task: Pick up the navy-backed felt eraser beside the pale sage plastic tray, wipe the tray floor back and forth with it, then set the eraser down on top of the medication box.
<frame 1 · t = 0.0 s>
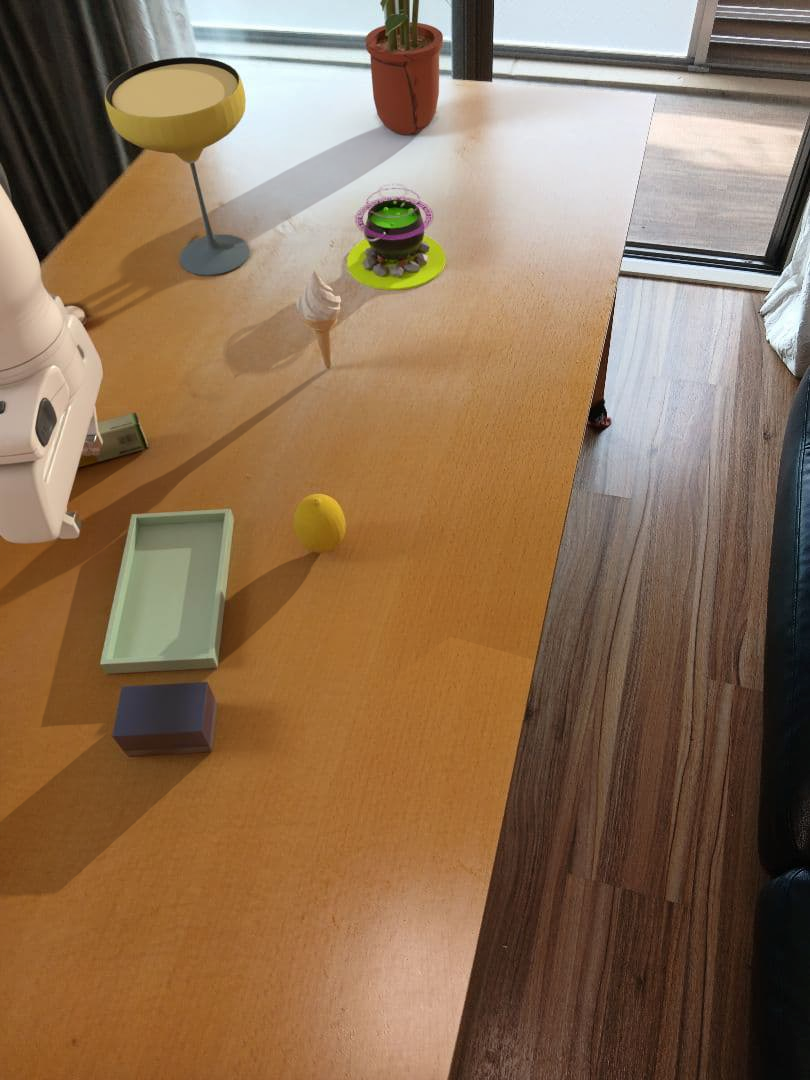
hand: (82, 489, 71), 20 cm above the table, tool pointing down, fingers open, 8 cm apart
eraser: (173, 729, 78), on the table
cocktail glass: (215, 256, 126), on the table
lemon: (324, 547, 91), on the table
potted plant: (415, 132, 148), on the table
tray: (174, 591, 87), on the table
white rounded oval piece: (71, 328, 116), on the table
medication box: (100, 457, 100), on the table
toy cauldron: (396, 261, 124), on the table
ice cream cone: (328, 369, 109), on the table
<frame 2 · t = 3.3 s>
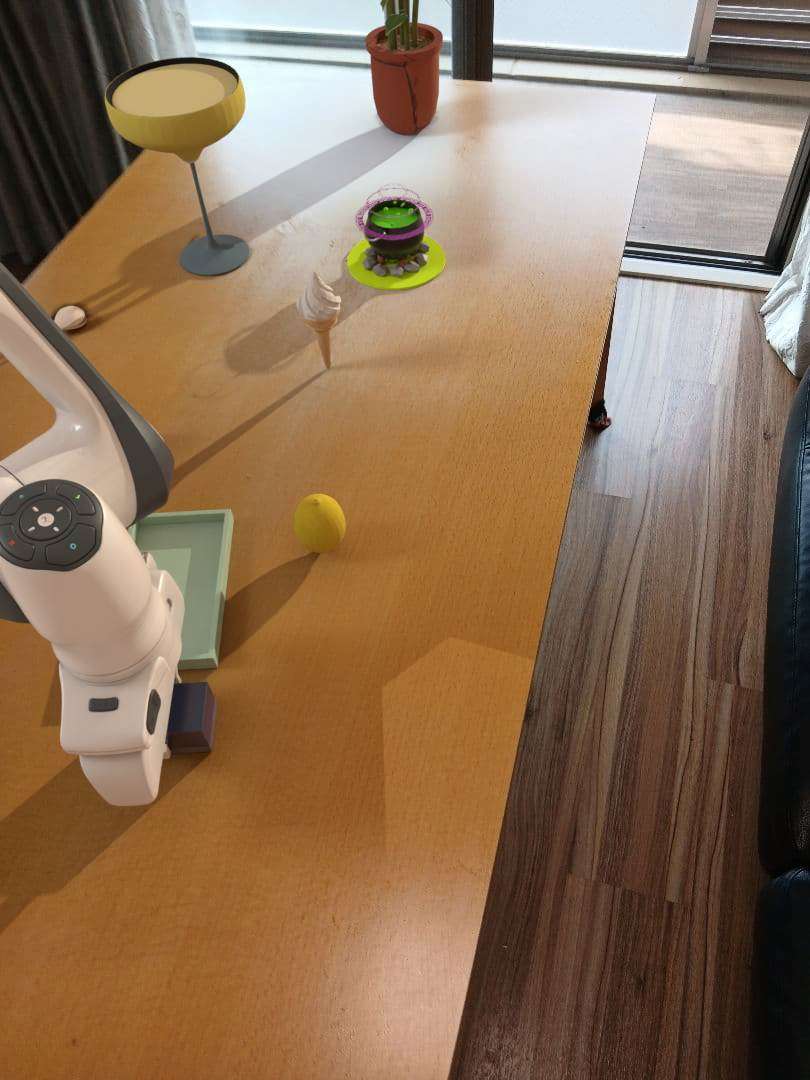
hand: (167, 720, 76), 2 cm above the table, tool pointing down, fingers closed on eraser, 5 cm apart
eraser: (173, 729, 78), on the table, touching gripper
everything else where it was.
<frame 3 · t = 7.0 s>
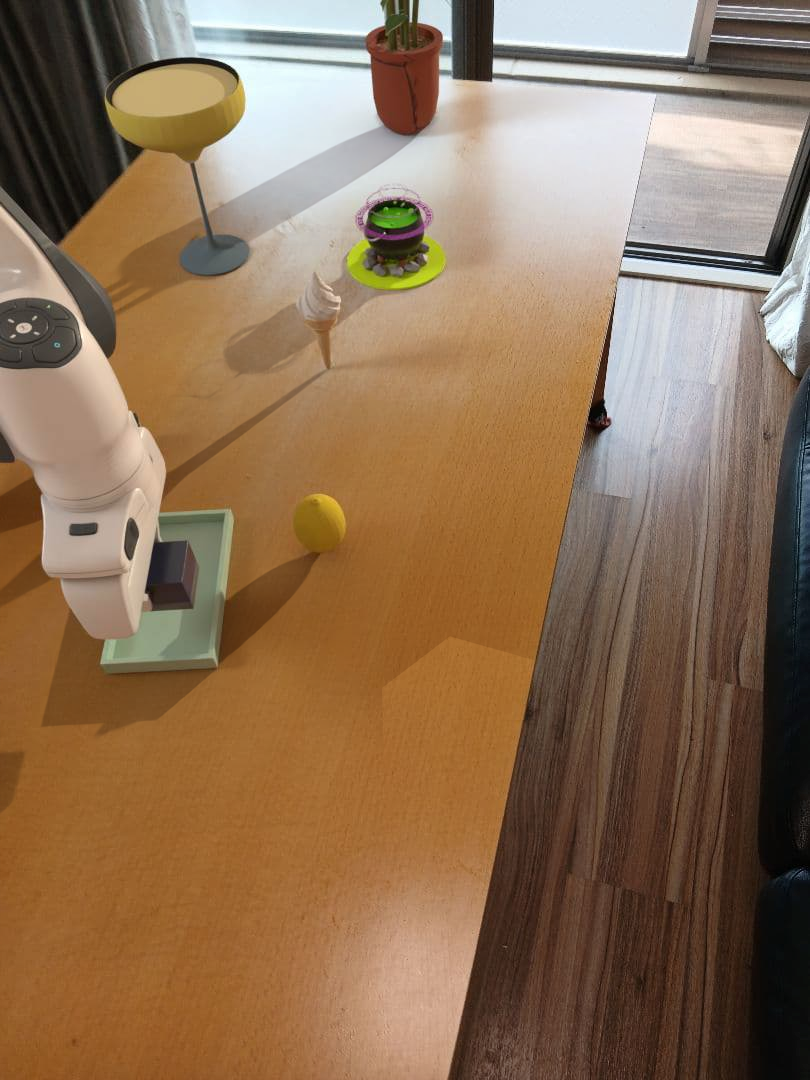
hand: (149, 578, 79), 8 cm above the table, tool pointing down, fingers closed on eraser, 5 cm apart
eraser: (156, 590, 80), point 6 cm above the table, touching gripper
everything else where it was.
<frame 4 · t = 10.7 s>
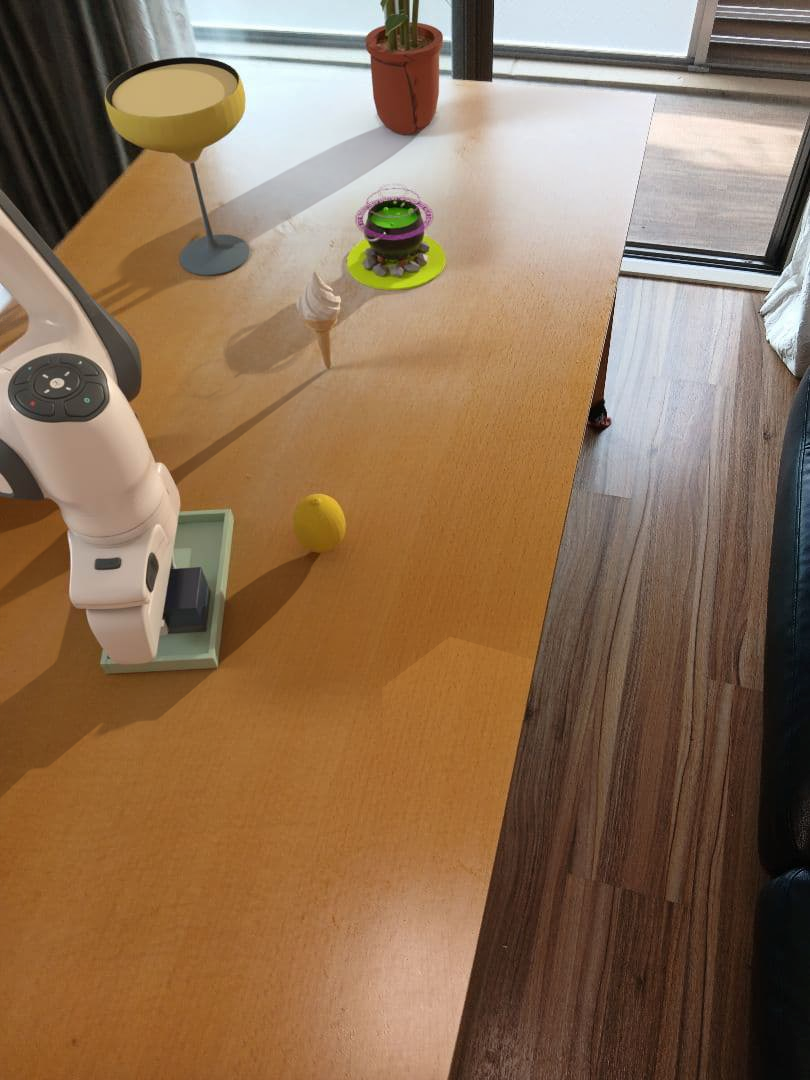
hand: (165, 603, 83), 3 cm above the table, tool pointing down, fingers closed on eraser, 5 cm apart
eraser: (170, 613, 85), point 1 cm above the table, touching gripper
everything else where it was.
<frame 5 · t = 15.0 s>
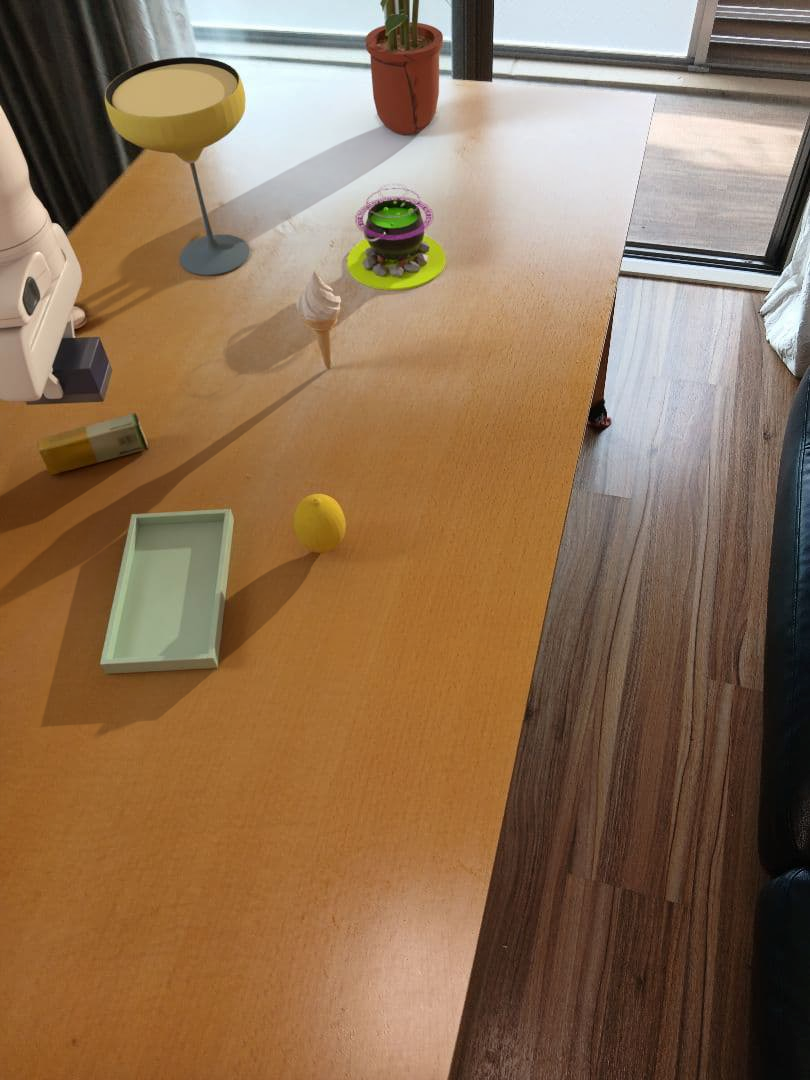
hand: (63, 373, 84), 17 cm above the table, tool pointing down, fingers closed on eraser, 5 cm apart
eraser: (70, 387, 86), point 15 cm above the table, touching gripper
everything else where it was.
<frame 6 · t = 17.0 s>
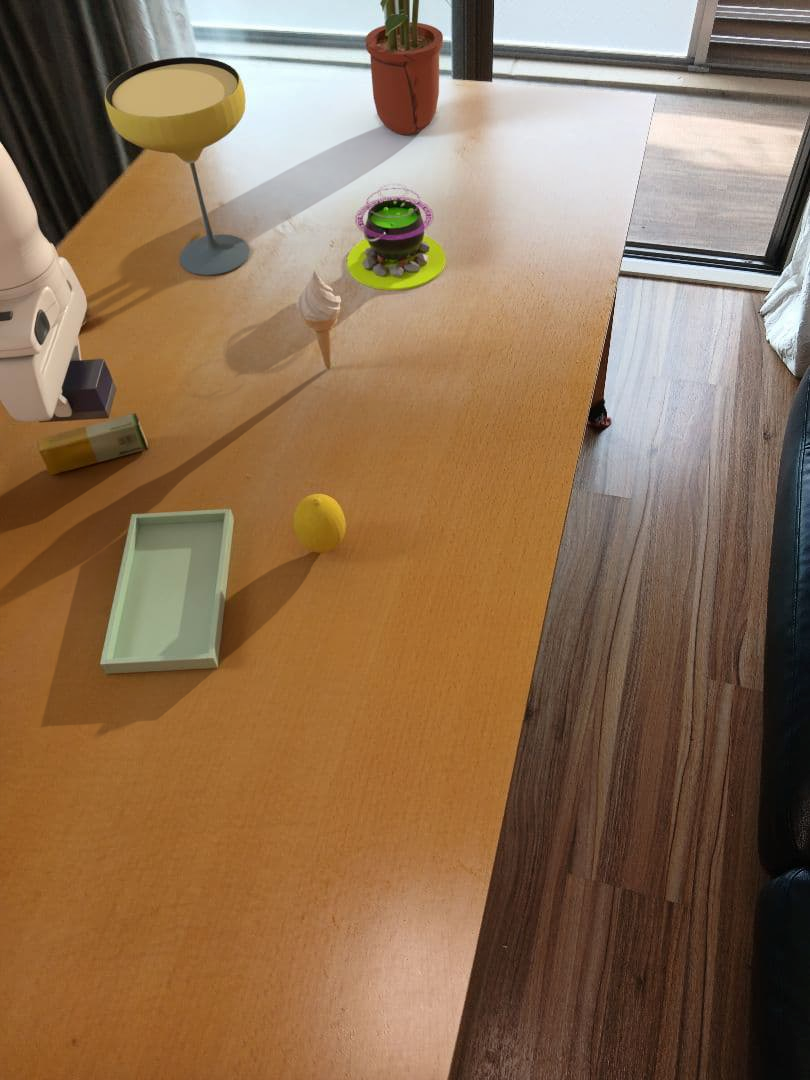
hand: (71, 393, 92), 10 cm above the table, tool pointing down, fingers closed on eraser, 5 cm apart
eraser: (78, 405, 94), point 8 cm above the table, touching gripper
everything else where it was.
when the fingers open (6 cm above the table, at t = 18.5 s): eraser stays where it is, resting on medication box.
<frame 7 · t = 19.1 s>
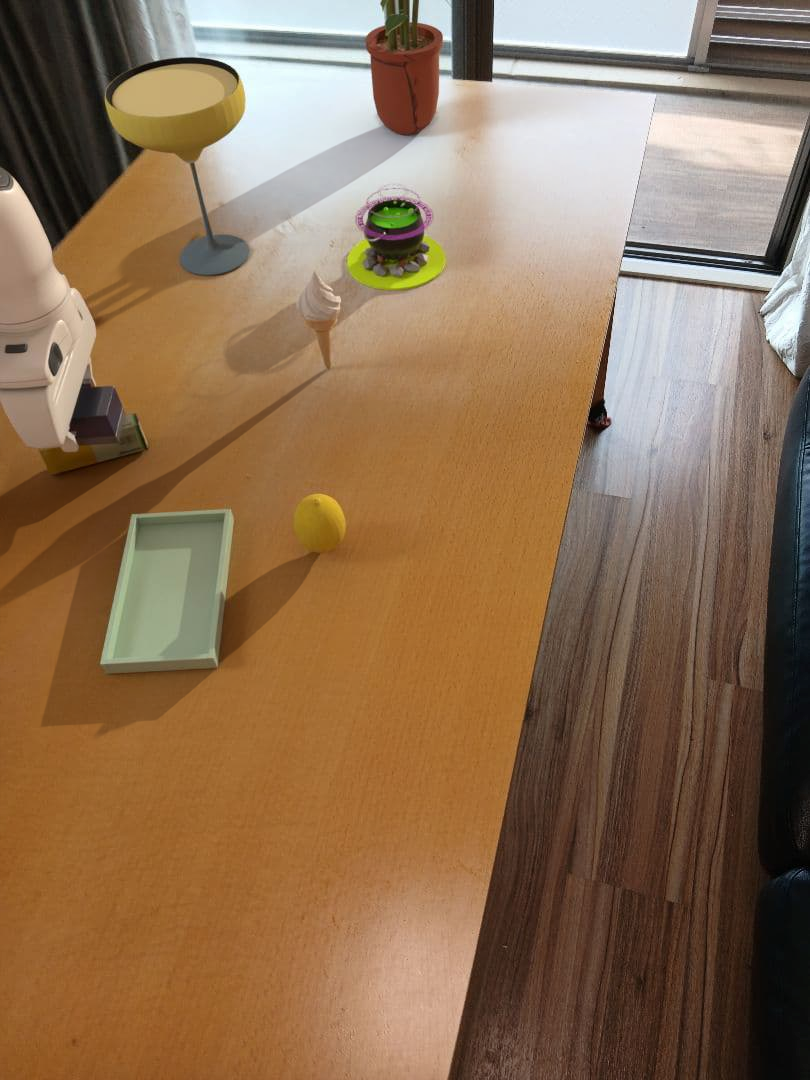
hand: (80, 418, 95), 6 cm above the table, tool pointing down, fingers open, 8 cm apart
eraser: (89, 430, 97), point 4 cm above the table, touching medication box
medication box: (100, 457, 100), on the table, touching eraser
everything else where it was.
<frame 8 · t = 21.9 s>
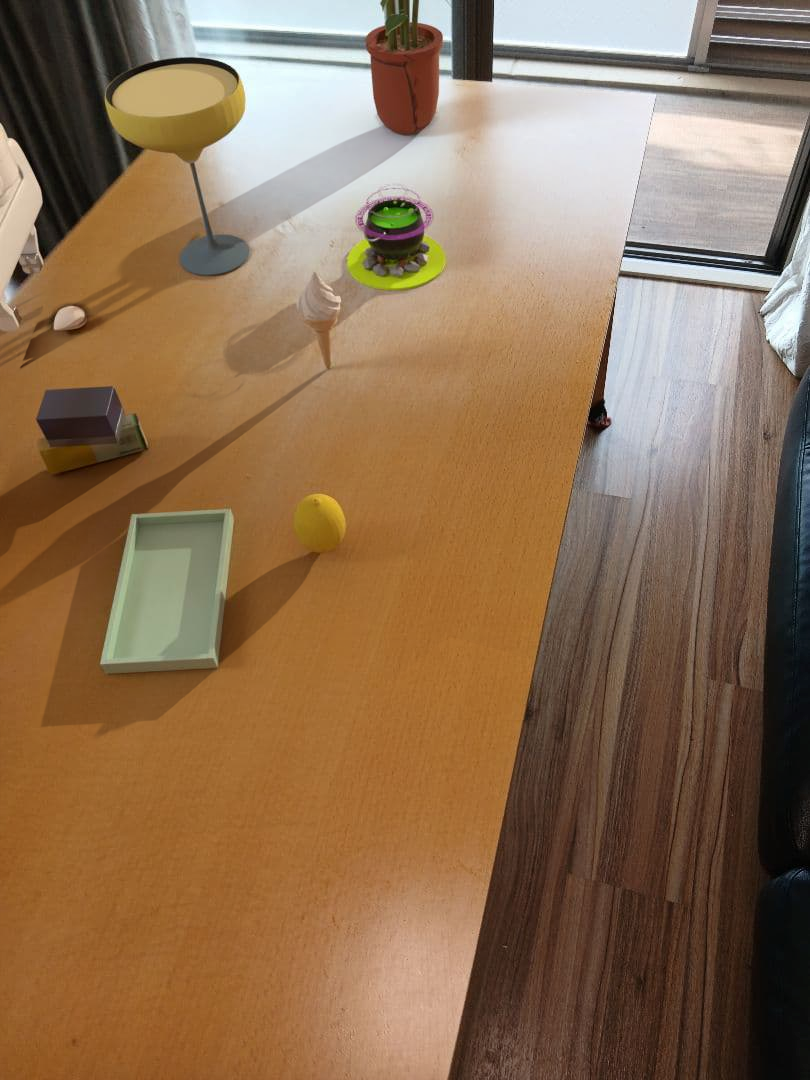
hand: (24, 297, 82), 23 cm above the table, tool pointing down, fingers open, 8 cm apart
nothing on the table moved.
at the end: eraser inside the target area on the medication box (0.1 cm from its centre), point 4.5 cm above the medication box's base; eraser tilted 0°; the gripper is holding nothing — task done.
